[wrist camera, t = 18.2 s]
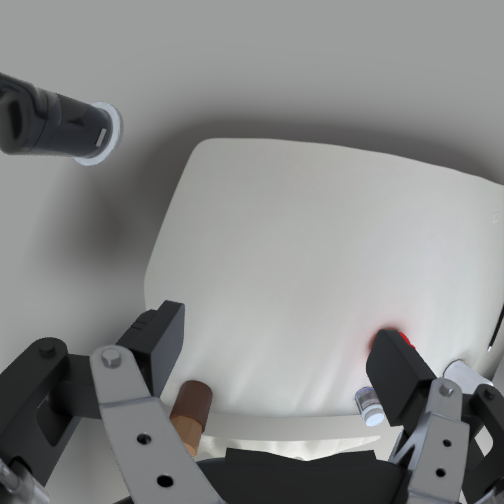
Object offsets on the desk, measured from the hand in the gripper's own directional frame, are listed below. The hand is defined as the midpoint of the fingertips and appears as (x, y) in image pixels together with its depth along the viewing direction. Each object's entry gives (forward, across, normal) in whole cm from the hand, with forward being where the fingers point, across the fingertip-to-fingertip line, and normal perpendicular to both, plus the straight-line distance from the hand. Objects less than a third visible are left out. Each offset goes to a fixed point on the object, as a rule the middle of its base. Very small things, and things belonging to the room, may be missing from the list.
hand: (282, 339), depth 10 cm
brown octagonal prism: (+23, +9, +37) cm, 45 cm away
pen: (+33, -62, +12) cm, 71 cm away
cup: (+33, -51, +27) cm, 67 cm away
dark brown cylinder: (+33, +9, +37) cm, 50 cm away
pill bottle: (+33, -27, +33) cm, 54 cm away
